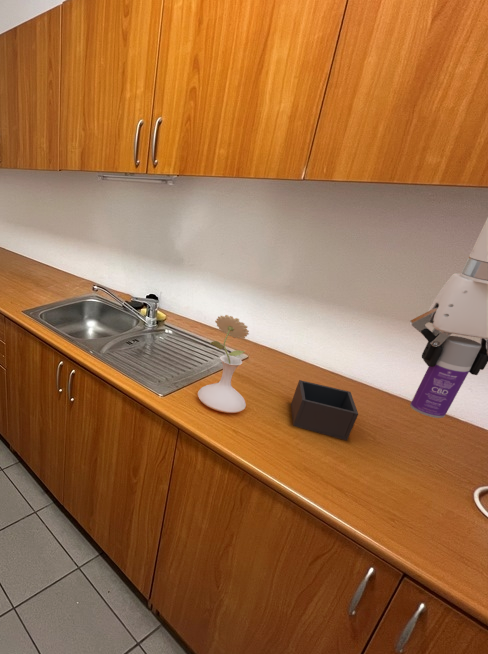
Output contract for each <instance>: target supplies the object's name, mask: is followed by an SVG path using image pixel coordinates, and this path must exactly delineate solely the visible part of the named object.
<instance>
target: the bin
mask: <svg viewBox="0 0 488 654" xmlns="http://www.w3.org/2000/svg"><path fill="white" fill-rule="evenodd" d="M290 409H291V419H292V425H293V427H296V428H300V429H303V430H308V431H310V432H314V433H318V434H322V435H325V436H329V437H332V438H334V439H335V438H336V439H338V440H339V439H340V440H342V441H348V439H349V437H350V435H351V432H352V430H353V428H354V425H355V423H356V421H357V418H358V416H359V412H358V410H357V406H356V403H355V400H354V398H353V395H352V392H351V391H349V390H344V389H340V388H336V387H331V386H327V385H323V384H319V383H314V382H310V381H305V380H302V379H299V380H298V381H297V384H296V388H295V391H294V394H293V397H292V400H291V403H290Z"/></svg>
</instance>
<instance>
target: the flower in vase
mask: <svg viewBox="0 0 488 654" xmlns="http://www.w3.org/2000/svg"><path fill="white" fill-rule="evenodd" d="M214 322H215V324H216V327H218V329H219V331H221V332H222V333H224V334H226V335H225V338H224V341H223V344H222V343H221V342H219V341H217V340H213V341H210V342H209V344H210V345H213V346H214V347H216V348H217V349H218V350H224V351H225V355H220V357H219V358H220V361H221V364H222V373H221V378H220V380H219V382H215V383H210V384H206V385H204V386H202V387H200V388H199V390H198V392H197V396H198V399H199V401H200V402H201V403H202V404H204V406H206V407H208V408H209V409H212V410H214V411H217V412H220V413H224V414H225V413H226V414H236V413H240V412H242V411H244V410H245V409H246V407H247V404H246V400H245V398H244V397H243V396H242V395H241V394H240V392H239V391H237V390H236V389H235V388H234V387H233V386H232V378H233V375H234V373H235V371H236V369H237V368H238V367H239V366H241V365H242V364H243V360H241V358H239V357H237V356H240V355H243V354H244V353H245V352H246V350H236V349H235V350H233V351H231V352H229V353H228V350H227V347H226V342H227V339H228V337H231V338H234V339H246V337H248V335H250V330H248V325H246V324H245V323H244V322H241V321H240V318H238V317H235V318H234V317H233V316H232V315H230V316H229V314H225V315H220V316H217V318H216V320H215V321H214Z"/></svg>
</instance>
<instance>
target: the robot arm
mask: <svg viewBox="0 0 488 654" xmlns="http://www.w3.org/2000/svg"><path fill="white" fill-rule="evenodd" d="M428 323H430V324H432V328H433V329H432V330H431V329H429V328H428V327H427V326H426V324H428ZM409 324H410V325H411V326H412V327H413V328H414V329H415V330H417V331H418V332H419V333H420V334H421V335H422V336H423V338H425V339H426V340H427V343H426V345H425V347H424V349H423V352H421V359H423V362H424V363H425V364H426V365H427V367H429V366H430V367H433V366H435V365H436V363H437V361H438V359H439V357H440V355H441V353H442V351H443V348H442V347H441V345H442V343H443V342H444V341H445V340H446V339H447V338H448V337H449V336H452V335H457V336H458V335H460V336H466V337H471V338H478V339H479V343H480V344H481V345H482V346H481V348H480V350H479V352H478V354H477V356H476V358H475V360H474V363H473V365H472V367H471V369H470V371H469V373H470V374H471V375H473V376H478V375H479V373H480V371H483V370H484V369H485V368H486V366H487V364H488V217H487V218H486V220H485V221H484V224H483V226H482V228H481V231H480V232H479V234H478V237H477V239H476V241H475V243H474V245H473V247H472V250H471V252H470V253H469V255H468V258H467V260H466V262H465V264H464V266H463V267H462V270H461V272H460V273H459V272H454V273H453V274H451V276H450V277H449V278H448V279H447V281H445V283H444V284H443V286H442V287H441V289H440V290H439V291H438V292H437V294H436V296H435V297H434V299H433V301H432V303H431V305H430V307H429V309H428V310H427V311H426V312H424V313H422V314H421V315H418V316H416V317H414V318H412V319H411V320H410V321H409Z"/></svg>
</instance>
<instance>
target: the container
mask: <svg viewBox="0 0 488 654" xmlns="http://www.w3.org/2000/svg"><path fill="white" fill-rule="evenodd" d="M481 346H482V345H481V344H480V342H479V341H476V340H473V339H471V338H468V337H463V336H458V335H450V336H449V337H448V338H447V339H446V340H445V341H444V342H443V343H442V345H441V347H442V348H443V351H442V353H441V355H440V357H439V359H438V361H437V363H436V365H435V366H433V367H430V366H427V369H426V371H425V373H424V375H423V377H422V379H421V382H420V383H419V385H418V388H417V390H416V391H415V393H414V395H413V398H412V400H411V401H410V403H409V406H410V408H411V410H413V411H415V412H416V413H418V414H420V415H423V416H425V417H430V418H434V419H442V418H445V417H446V415H447V413H448V411H449V409H450V408H451V405H452V404H453V402H454V400H455V399H456V396H457V394H458V393H459V391H460V389H461V387H462V386H463V384H464V382H465V380H466V378H467V377H468V374H469V373H470V372H469V371H470V369H471V367H472V365H473V363H474V360H475V358H476V356H477V354H478V352H479V350H480V348H481Z"/></svg>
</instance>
